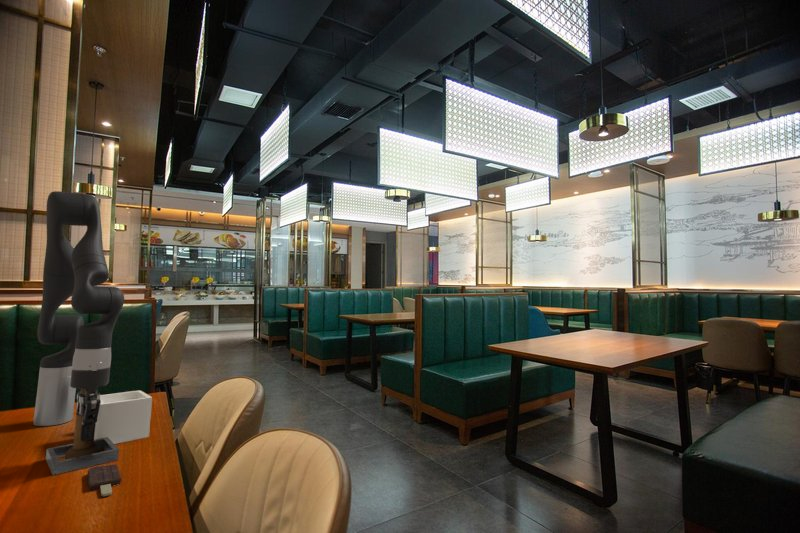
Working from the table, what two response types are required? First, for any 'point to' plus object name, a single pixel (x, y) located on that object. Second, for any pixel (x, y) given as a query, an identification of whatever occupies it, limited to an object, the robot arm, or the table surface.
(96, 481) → the ice cream bar
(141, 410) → the box
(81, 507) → the table surface
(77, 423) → the mortar and pestle
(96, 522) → the table surface
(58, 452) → the low collar
